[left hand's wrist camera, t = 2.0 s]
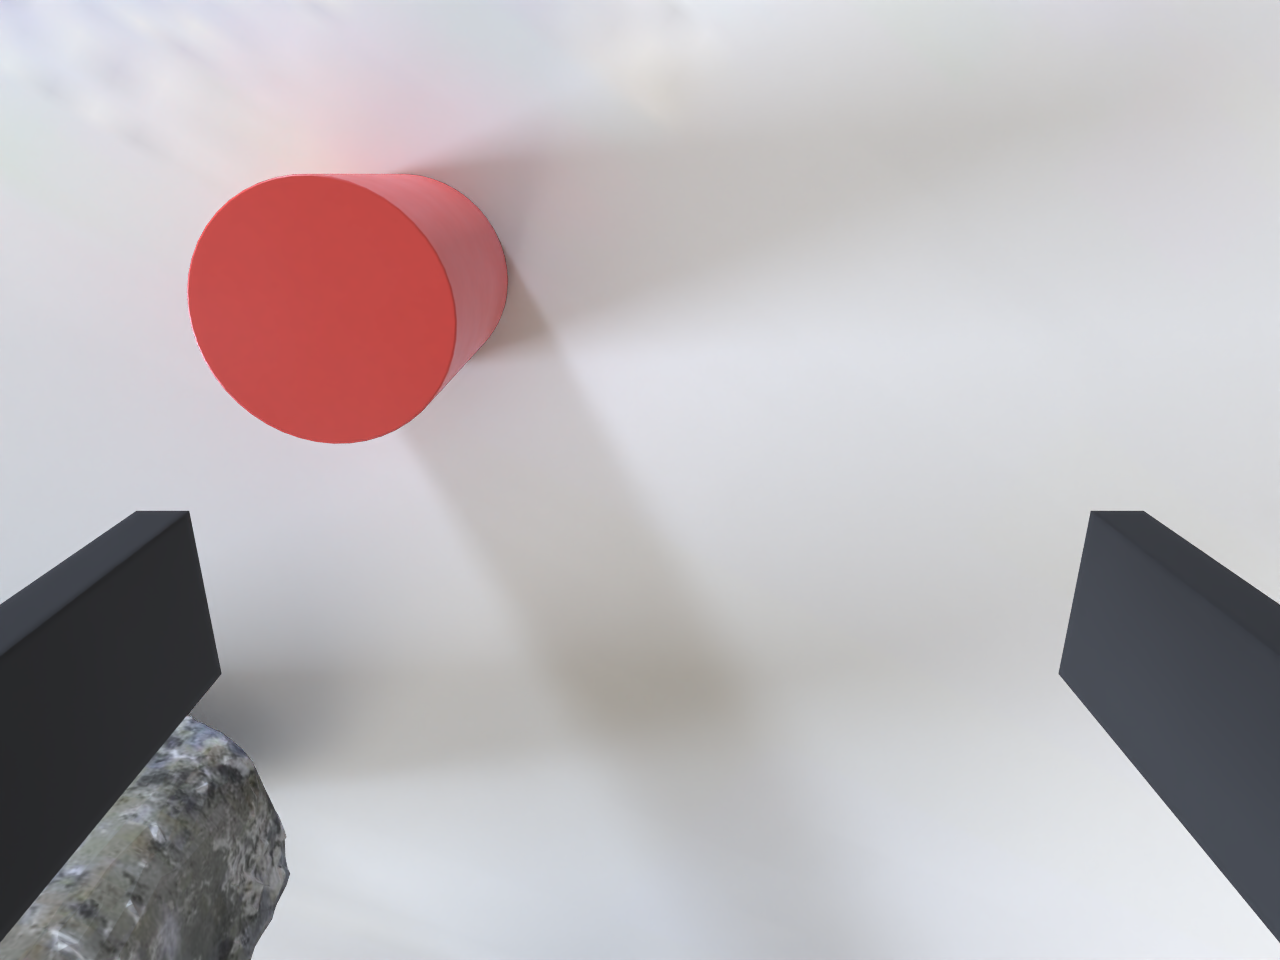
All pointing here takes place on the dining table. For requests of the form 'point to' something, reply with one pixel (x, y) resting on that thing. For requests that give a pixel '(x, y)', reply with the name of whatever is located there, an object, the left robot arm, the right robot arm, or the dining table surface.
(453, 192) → the can
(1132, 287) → the dining table surface
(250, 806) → the concrete block
